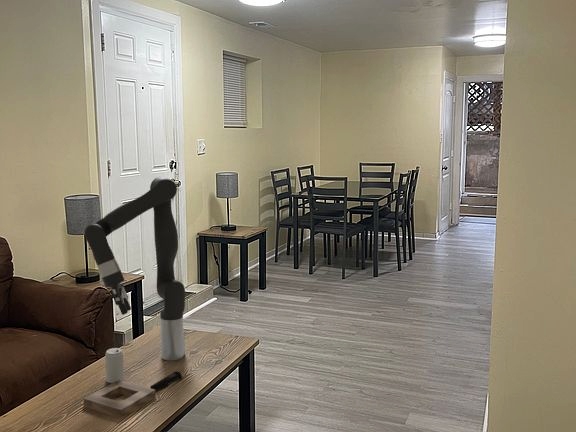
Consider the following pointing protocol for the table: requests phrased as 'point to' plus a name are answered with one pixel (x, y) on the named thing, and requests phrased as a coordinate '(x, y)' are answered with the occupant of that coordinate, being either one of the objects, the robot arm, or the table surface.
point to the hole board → (118, 409)
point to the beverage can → (114, 365)
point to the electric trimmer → (166, 381)
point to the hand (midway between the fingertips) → (127, 312)
